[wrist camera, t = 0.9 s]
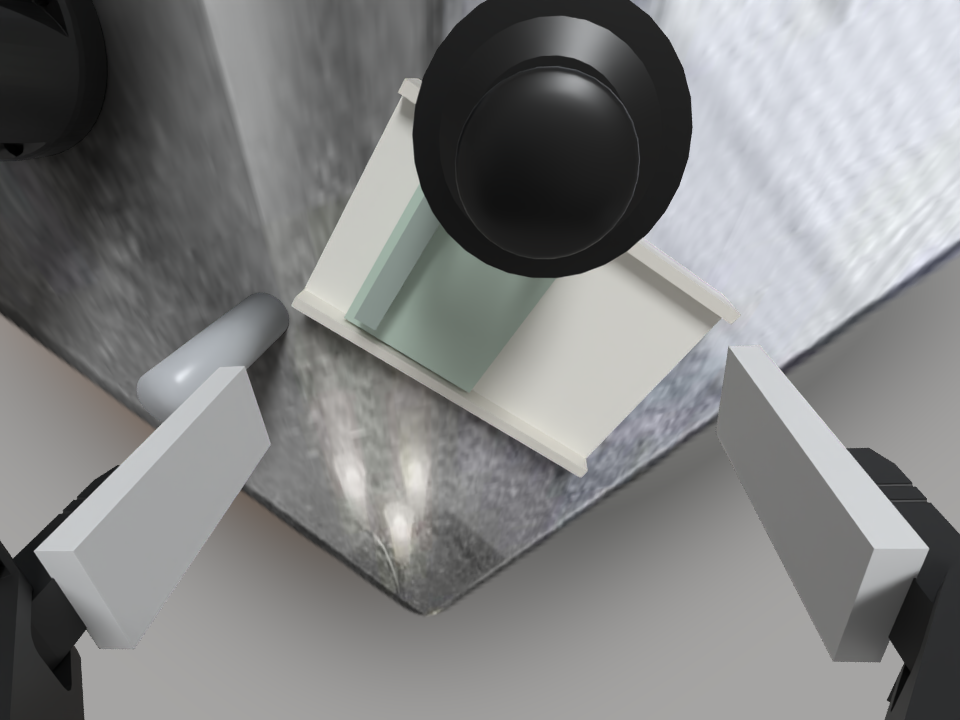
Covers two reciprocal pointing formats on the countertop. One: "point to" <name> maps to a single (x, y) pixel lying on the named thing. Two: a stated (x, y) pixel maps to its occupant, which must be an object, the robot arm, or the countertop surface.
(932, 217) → the countertop surface
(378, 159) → the housing
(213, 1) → the countertop surface
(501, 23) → the french press
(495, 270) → the lid
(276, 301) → the pin
